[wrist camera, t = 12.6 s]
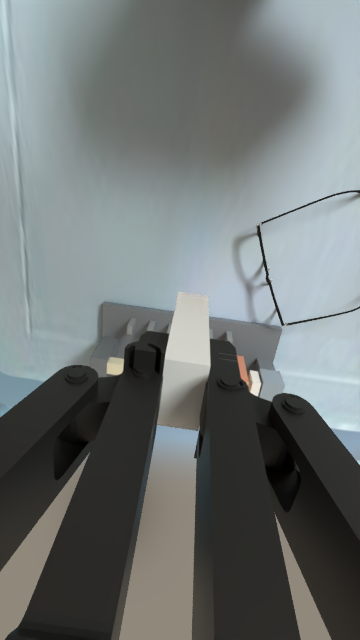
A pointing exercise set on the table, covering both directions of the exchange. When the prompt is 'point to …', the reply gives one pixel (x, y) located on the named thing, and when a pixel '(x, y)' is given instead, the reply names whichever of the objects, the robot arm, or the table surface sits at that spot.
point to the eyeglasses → (269, 268)
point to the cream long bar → (258, 382)
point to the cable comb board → (134, 321)
